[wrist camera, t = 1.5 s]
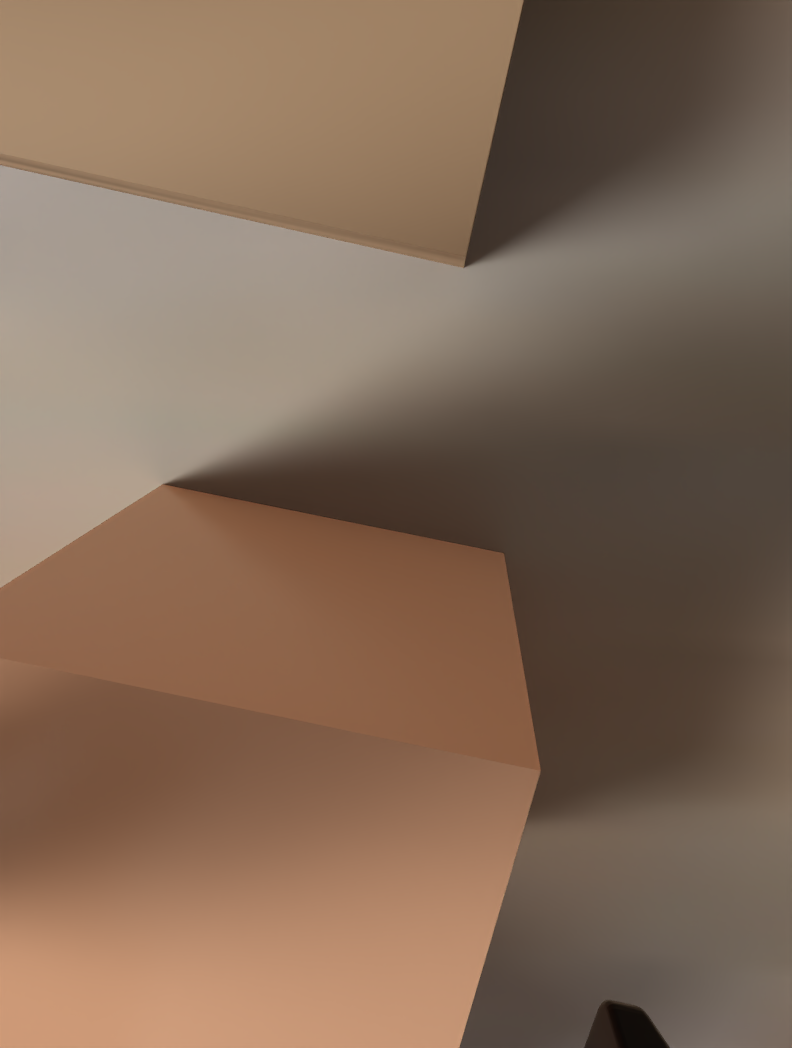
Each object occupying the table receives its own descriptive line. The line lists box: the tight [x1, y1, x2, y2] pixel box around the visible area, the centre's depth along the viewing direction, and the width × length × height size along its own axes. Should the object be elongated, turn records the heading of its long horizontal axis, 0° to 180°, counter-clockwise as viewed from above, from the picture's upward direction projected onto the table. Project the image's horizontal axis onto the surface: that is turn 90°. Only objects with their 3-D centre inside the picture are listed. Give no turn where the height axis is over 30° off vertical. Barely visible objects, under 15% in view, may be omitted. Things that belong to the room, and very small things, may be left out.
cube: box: [0, 484, 541, 1048], centre depth 11 cm, size 6×6×6 cm
